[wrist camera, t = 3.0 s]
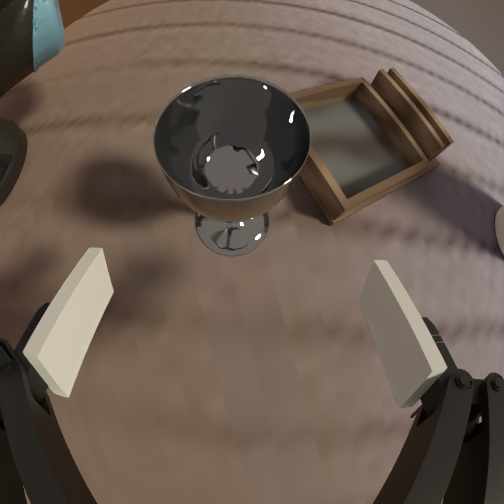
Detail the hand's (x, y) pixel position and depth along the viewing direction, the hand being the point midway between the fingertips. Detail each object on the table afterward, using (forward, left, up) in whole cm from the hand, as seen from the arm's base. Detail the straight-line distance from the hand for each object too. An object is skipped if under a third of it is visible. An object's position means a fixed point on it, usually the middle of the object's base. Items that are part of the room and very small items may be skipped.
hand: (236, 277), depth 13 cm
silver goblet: (-6, +3, -13) cm, 15 cm away
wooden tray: (-8, +21, -13) cm, 26 cm away
